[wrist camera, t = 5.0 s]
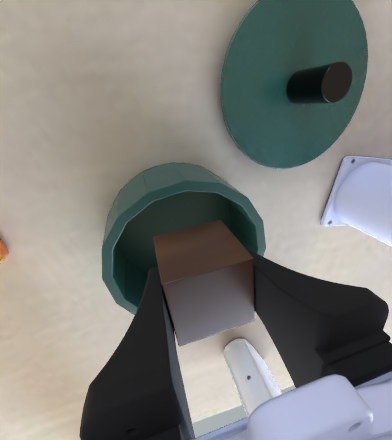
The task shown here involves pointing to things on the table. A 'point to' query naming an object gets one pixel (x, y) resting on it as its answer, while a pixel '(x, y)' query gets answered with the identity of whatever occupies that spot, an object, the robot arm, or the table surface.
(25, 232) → the table surface
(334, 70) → the lid
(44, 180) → the table surface
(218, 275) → the block
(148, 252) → the tin
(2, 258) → the supplement box
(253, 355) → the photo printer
